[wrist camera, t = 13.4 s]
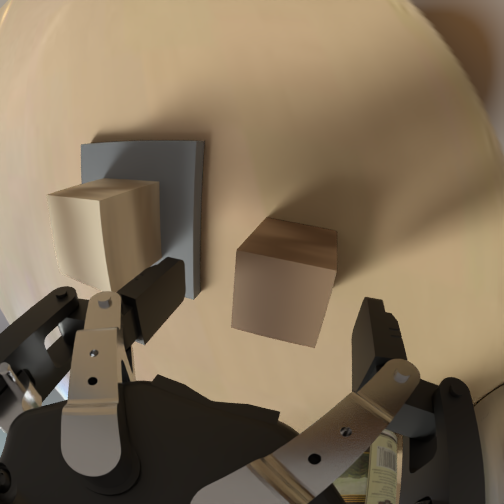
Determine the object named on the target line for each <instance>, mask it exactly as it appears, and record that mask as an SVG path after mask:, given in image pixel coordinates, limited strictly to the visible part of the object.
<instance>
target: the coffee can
mask: <svg viewBox="0 0 504 504" xmlns="http://www.w3.org/2000/svg"><path fill="white" fill-rule="evenodd" d="M333 484H334V485H335V487H336V489H337V490H338V492H339V493H340V495H341V496H342V498H343V499H344V501H345V502H346V504H395V502H396V485H397V436H396V435H395V434H394V433H393V432H392V431H389V430H387V429H384V430H383V432H382V433H381V434H380V435H379V436H378V437H377V439H376V440H375V441H374V442H373V443H372V444H371V445H370V446H369V447H368V449H367V450H366V451H365V452H364V453H363V454H362V455H361V456H360V457H359V458H358V459H357V460H356V461H355V462H354V463H353V464H352V465H351V466H350V467H349V468H348V469H347V470H346V471H345V472H344V473H343V474H342V475H340V476H339V477H338V478H337V479H336V480H335V481H334V482H333Z"/></svg>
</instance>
